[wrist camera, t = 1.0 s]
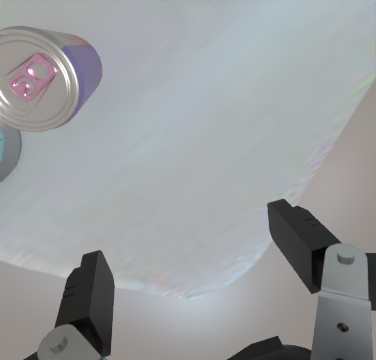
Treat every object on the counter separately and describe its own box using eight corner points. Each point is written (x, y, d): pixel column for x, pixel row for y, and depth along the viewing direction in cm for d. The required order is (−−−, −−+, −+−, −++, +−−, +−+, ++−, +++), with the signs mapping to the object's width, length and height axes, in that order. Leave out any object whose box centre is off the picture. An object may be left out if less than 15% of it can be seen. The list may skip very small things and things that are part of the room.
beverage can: (114, 69, 31) (103, 87, 17) (76, 108, 31) (37, 154, 18) (68, 20, 28) (12, -3, 15) (28, 64, 29) (-59, 80, 16)
